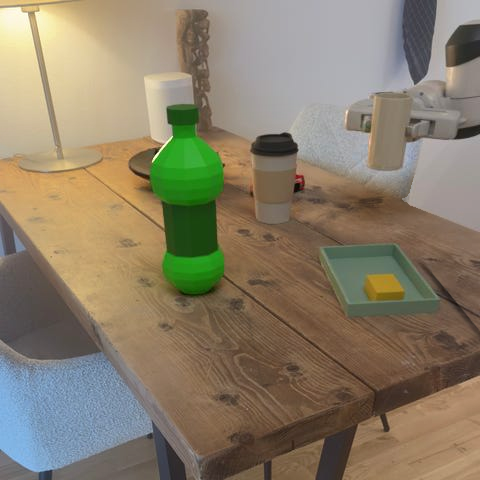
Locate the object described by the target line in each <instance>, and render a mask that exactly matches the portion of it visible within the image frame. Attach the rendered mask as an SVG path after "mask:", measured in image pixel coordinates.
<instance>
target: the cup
mask: <svg viewBox="0 0 480 480" xmlns="http://www.w3.org/2000/svg"><path fill="white" fill-rule="evenodd" d="M390 92H391V93H379V94H376V95H375V96H374V104H373V113H372V121H371V130H370V133H369V142H368V148H367V157H366V167H367V168H369V169H371V170H373V171H379V172H380V171H381V172H394V171H398V170H401V169H402V168H403V167H404V162H405V155H406V149H407V144H408V143H407V137H406V132H407V131H406V129H407V126H408V125H409V124H410V117H411V111H412V104H413V98H414V96H413V95H411V94H407V93H394V92H395V91H390ZM392 92H393V93H392Z"/></svg>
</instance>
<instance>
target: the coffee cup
mask: <svg viewBox="0 0 480 480" xmlns="http://www.w3.org/2000/svg"><path fill="white" fill-rule="evenodd" d="M249 152H250V155H251V165H250V166H251V168H250V169H251V178H252V183H253V193H254V194H253V198H254V208H255V209H254V210H255V220H256V221H258V222H259V223H262V224H268V225H281V224H285V223H287V222H289V221H290V220H291V213H292V205H293V203H292V202H293V198H294V193H295V192H294V184H295V176H296V173H297V168H298V167H297V166H298V165H297V159H298V152H299V144H298V143H297V142H296V141H294V138H293V135H292V133H289V132H286V131H284V132H281V133H266V134H261V135H258V136H257V137H255V140H254V141H253V142H252V143H251V145H250V150H249Z"/></svg>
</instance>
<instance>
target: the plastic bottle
mask: <svg viewBox="0 0 480 480" xmlns="http://www.w3.org/2000/svg"><path fill="white" fill-rule="evenodd" d="M165 110H166V120H167V125H171V130H172V131H171V132H172V136H171V137H170V138H169V139H168V140H167V141H166V142H165V143H164V144H163V145H162V146H163V147H162V146H161V147H162V148H161V149H160V150H159V152H158V153H157V154H156V155H155V157H154V158H153V161H152V165H151V169H150V181H149V182H150V186H151V189H152V192H153V195H154V196H155V197H157V198H158V199H159V200H160V201H161V208H162V216H163V217H162V218H163V226H164V237H165V246H166V248H165V250H164V254H163V258H162V263H161V269H162V274H163V276H164V278H165V280H166V281H167V282H169V284H171V285H172V286H174V287H175V288H176V289H178V290H179V291H180V292H182V293H183V294H188V295H200V294H201V295H202V294H206V293H208V292H209V291H210V290H212V288H213V287H214V286H216V285H217V284H218V283H219V282H220V281H221V280H222V278H223V276H224V274H225V269H226V268H225V254H224V251H223V249H222V247H221V246H220V244H219V242H218V219H217V217H218V216H217V199H218V197H219V196H220V195H221V193H222V192H223V189H224V183H225V179H224V175H225V174H224V168H223V160H222V158H221V155H220V154H219V153H218V154H219V155H218V154H217V153H216V152H217V151H216V150H214V148H212V147H211V146H210V145H209V144H208V143H207V142H205V140H204V139H202V137H200V136H198V135H197V126H196V125H197V124H200V112H199V110H200V109H199V105H197V104H193V103H178V104H176V103H175V104H171V105H166V109H165ZM215 151H216V152H215Z"/></svg>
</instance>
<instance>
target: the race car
mask: <svg viewBox="0 0 480 480" xmlns="http://www.w3.org/2000/svg"><path fill="white" fill-rule="evenodd" d="M305 186H306V180H305V176H304V174H302V173H300V172H296V176H295V184H294V193H297V192H299V191H300V190H302V189H304V188H305ZM249 193H250V194H252V195H254V193H253V182H252V183H251V184H250V187H249Z"/></svg>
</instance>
